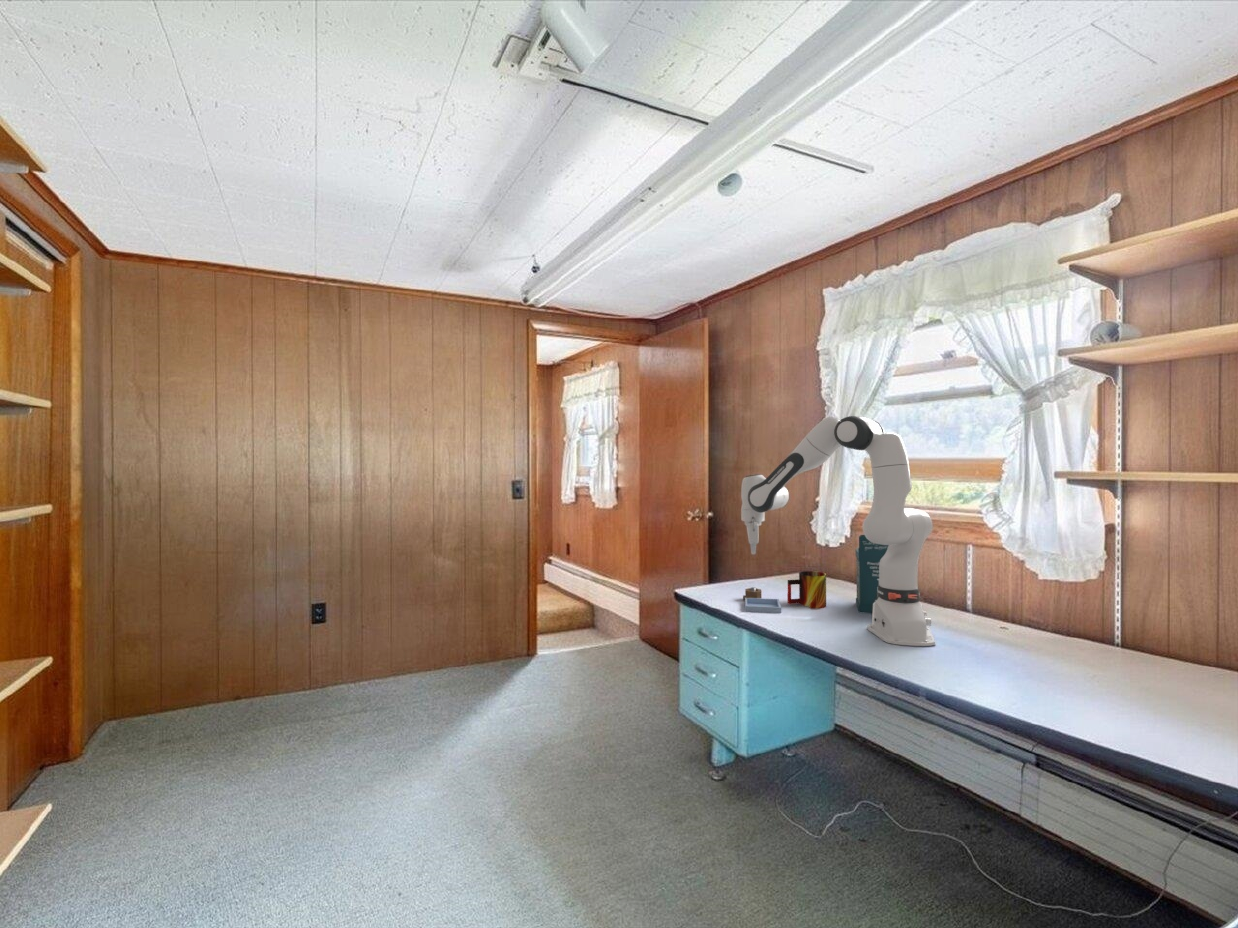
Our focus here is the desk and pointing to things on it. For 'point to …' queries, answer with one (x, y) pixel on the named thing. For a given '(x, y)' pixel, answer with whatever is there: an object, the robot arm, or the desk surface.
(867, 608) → the donation box
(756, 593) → the ring
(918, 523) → the robot arm
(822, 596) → the mug
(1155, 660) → the desk surface
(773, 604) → the tray
